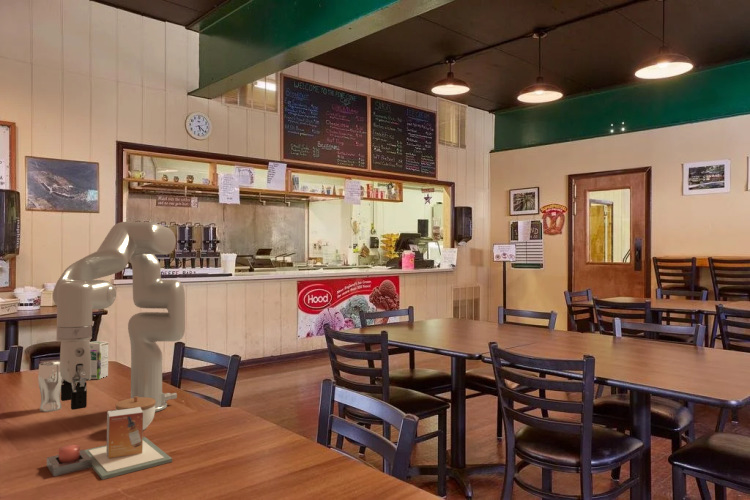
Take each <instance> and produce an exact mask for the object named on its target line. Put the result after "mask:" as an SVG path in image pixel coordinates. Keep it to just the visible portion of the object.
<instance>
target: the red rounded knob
mask: <svg viewBox="0 0 750 500" xmlns="http://www.w3.org/2000/svg"><path fill="white" fill-rule="evenodd" d="M80 448H81V446H80V444H68V445H63V446H62V447H61V446H60V448H59V449H58V455H59V462H60V463H67V462H72V461H76V460H79V459H80V450H81V449H80Z"/></svg>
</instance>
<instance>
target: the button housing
mask: <svg viewBox="0 0 750 500" xmlns="http://www.w3.org/2000/svg"><path fill="white" fill-rule="evenodd" d="M84 450H85V449H80V459H79V460H76V461H72V462H67V463H60V462H59V454H57V455H52V456H49V457H46V466H47V469H48V470H49V472H50V473H51V475H52V476H53V477H58V476H63V475H65V474H69V473H74V472H77V471H82V470H88V469H93V468H92V459H91V458H90V456H89V455H88V454H87V453H86V452H85V451H84Z"/></svg>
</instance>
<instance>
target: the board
mask: <svg viewBox="0 0 750 500" xmlns="http://www.w3.org/2000/svg"><path fill="white" fill-rule="evenodd" d="M106 447H107V444H106V445H101V446H96V447H93V448H92V447H91V448H87V449H83V450H84V451H85V452H86V453H87V454H88V455H89V456H90V458H91V459H92V468H91V469H93V472H95V473H96V474H97V475H98V477H99V478H100V479H101V480H102V481H103V480H107V479H110V478H115V477H118V476H122V475H126V474H131V473H134V472H138V471H142V470H146V469H149V468H153V467H158V466H161V465H165V464H168V463H172V462H173V458H172V457H171V456H170V455H169V454H167V453H166V452H165V451H163V450H162V449H161V448H160V447H159V446H157V445H156V444H155V443H154V442H152V441H151V440H150V439H149V438H147V437H146V436H143V449H142V454H134V455H127V456H120V457H114V458H108V456H107V451H106Z"/></svg>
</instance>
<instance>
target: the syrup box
mask: <svg viewBox="0 0 750 500" xmlns="http://www.w3.org/2000/svg"><path fill="white" fill-rule="evenodd" d="M89 343H90V354H91V379H90V380H102V379H104V378H107V377H108V376H109V341H100V340H95V341H89ZM106 376H107V377H106ZM103 377H104V378H103ZM101 378H102V379H101Z"/></svg>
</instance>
